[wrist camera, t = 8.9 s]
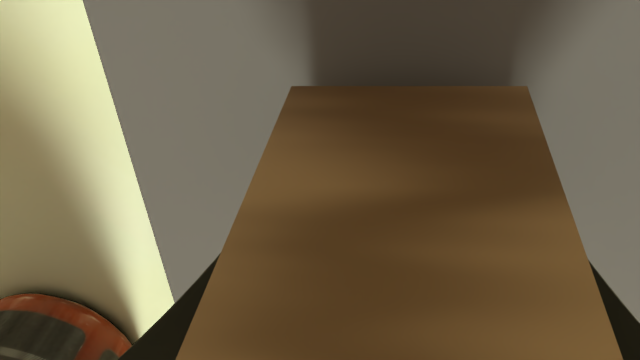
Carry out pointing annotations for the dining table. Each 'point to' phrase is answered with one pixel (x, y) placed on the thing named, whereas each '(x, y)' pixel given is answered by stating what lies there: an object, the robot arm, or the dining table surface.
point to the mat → (366, 70)
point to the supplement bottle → (56, 330)
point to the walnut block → (403, 237)
